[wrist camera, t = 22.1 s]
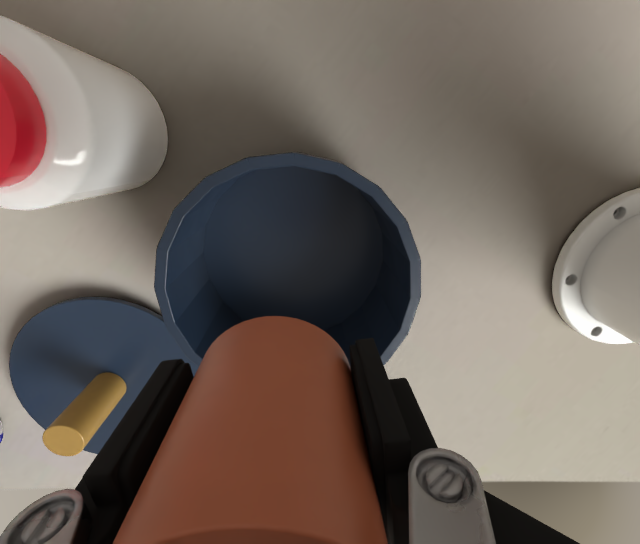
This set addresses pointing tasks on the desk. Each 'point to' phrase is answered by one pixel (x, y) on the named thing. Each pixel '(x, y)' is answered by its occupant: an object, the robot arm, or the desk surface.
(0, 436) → the beverage can
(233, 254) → the tin
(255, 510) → the candle
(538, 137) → the desk surface
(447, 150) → the desk surface
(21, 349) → the lid
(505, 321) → the desk surface
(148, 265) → the desk surface
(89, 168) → the pill bottle
